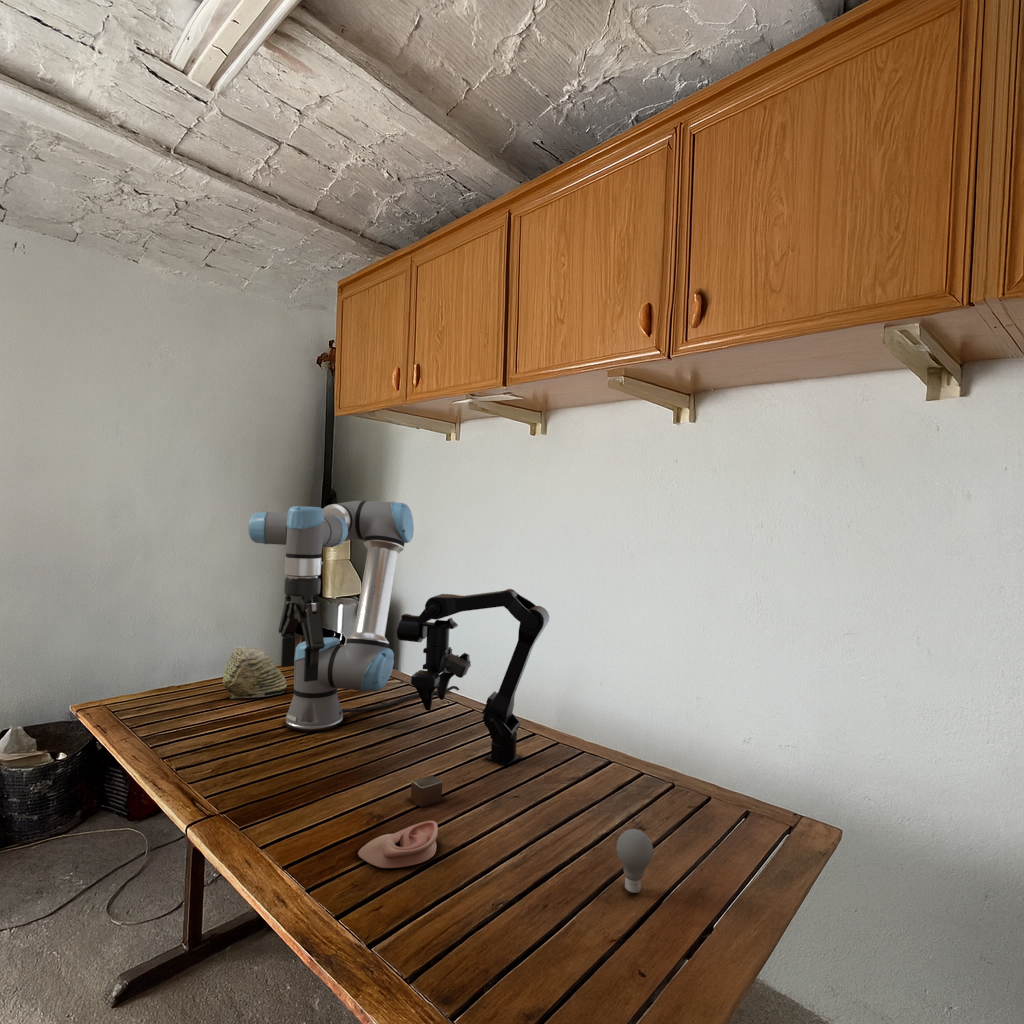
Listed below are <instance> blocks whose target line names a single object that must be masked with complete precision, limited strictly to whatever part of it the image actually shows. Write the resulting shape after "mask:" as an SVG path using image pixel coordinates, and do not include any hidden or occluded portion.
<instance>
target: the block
mask: <svg viewBox="0 0 1024 1024" xmlns="http://www.w3.org/2000/svg"><path fill="white" fill-rule="evenodd" d="M410 789H411V790H410V801H411V802H413V803H414V804H415V805H417V806H418V807H420V808H424V807H428V806H431V805H433V804H436V803H439V802H442V800H443V781H442V780H440V779H439V778H437V777H436V776H434V775H432V774H430V775H427V776H423V777H419V778H417V779H413V780H411V786H410Z"/></svg>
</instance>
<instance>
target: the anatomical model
mask: <svg viewBox="0 0 1024 1024" xmlns="http://www.w3.org/2000/svg"><path fill="white" fill-rule="evenodd" d="M438 833H439V826H438V823H437V822H436V821H435V820H426V821H422V822H419V823H416V824H413V825H410V826H408V827H406V828H403V829H401V830H399V831H397V832H394V833H387V834H382V835H380V836H377V837H375V838H373V839H372V840H370V841H368V842H367V843H366V844H365V845H363V846H361V848H360V849H359V850H358V852H357V855H358V857H359V858H360V859H362V860H363V861H365V862H366V863H368V864H370V865H372V866H375V867H377V868H381V869H395V868H404V867H410V866H415V865H418V864H421V863H424V862H426V861H428V860H430V859H431V858H433V857H434V855H435V854H436V852H437V841H436V840H437V838H438Z"/></svg>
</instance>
